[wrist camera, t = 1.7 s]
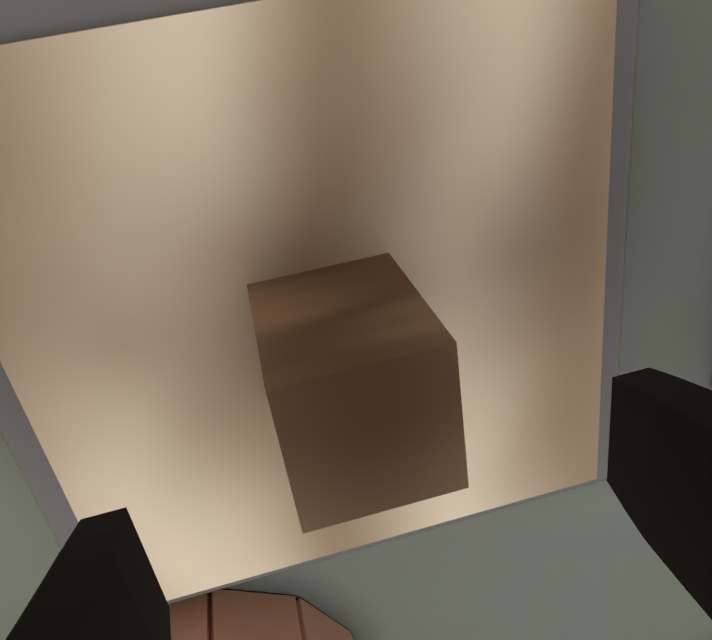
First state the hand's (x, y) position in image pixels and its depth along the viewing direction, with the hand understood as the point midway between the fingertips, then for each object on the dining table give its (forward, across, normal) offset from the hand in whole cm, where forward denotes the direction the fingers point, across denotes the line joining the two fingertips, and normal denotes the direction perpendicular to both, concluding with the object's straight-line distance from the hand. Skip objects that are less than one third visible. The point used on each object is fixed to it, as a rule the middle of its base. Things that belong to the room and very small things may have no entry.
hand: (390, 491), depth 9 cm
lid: (+6, 0, 0) cm, 6 cm away
